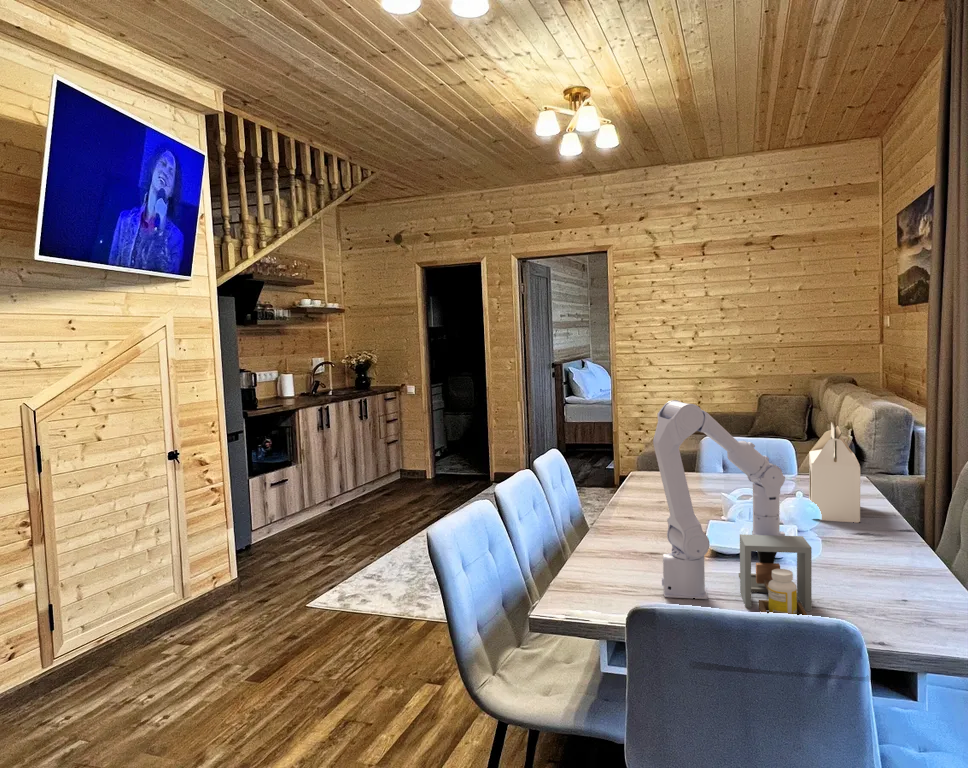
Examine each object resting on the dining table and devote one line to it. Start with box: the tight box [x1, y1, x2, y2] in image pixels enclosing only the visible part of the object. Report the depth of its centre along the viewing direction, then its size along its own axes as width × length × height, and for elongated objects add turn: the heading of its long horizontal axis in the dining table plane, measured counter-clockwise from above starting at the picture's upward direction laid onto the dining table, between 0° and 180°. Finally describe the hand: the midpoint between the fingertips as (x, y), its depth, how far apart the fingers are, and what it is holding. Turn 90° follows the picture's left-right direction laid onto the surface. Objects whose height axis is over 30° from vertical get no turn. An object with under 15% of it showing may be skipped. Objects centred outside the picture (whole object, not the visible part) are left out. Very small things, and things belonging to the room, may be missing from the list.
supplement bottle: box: [767, 568, 798, 615], centre depth 142 cm, size 5×5×10 cm
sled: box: [755, 562, 808, 615], centre depth 148 cm, size 8×22×5 cm, turn 167°
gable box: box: [808, 421, 861, 524], centre depth 216 cm, size 22×13×28 cm, turn 156°
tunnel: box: [739, 533, 813, 612], centre depth 150 cm, size 13×8×14 cm, turn 77°
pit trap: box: [738, 572, 768, 594], centre depth 160 cm, size 11×10×1 cm
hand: (766, 570), depth 160 cm, fingers closed
